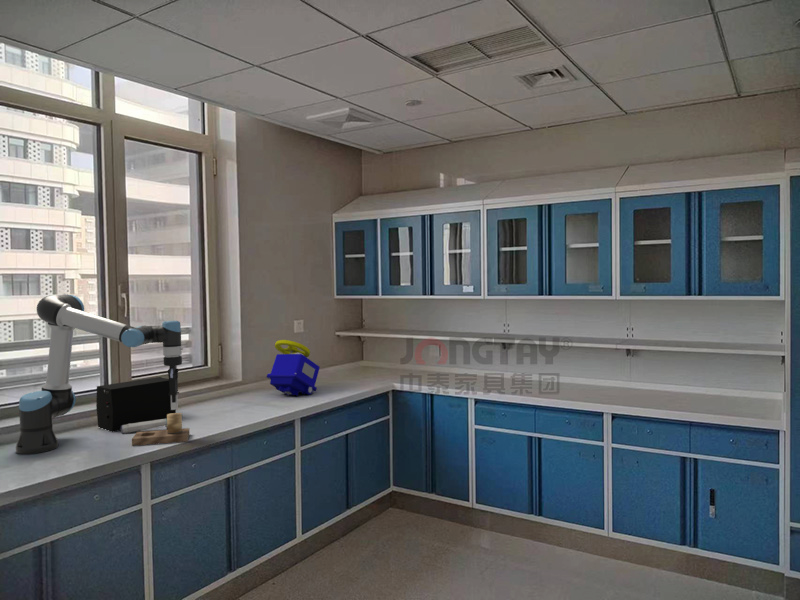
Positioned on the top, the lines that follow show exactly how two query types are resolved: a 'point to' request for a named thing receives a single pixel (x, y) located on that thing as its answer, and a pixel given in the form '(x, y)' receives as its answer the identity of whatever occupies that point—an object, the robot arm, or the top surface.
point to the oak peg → (174, 423)
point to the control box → (293, 369)
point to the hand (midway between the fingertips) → (174, 409)
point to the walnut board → (159, 437)
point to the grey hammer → (143, 425)
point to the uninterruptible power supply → (133, 402)
